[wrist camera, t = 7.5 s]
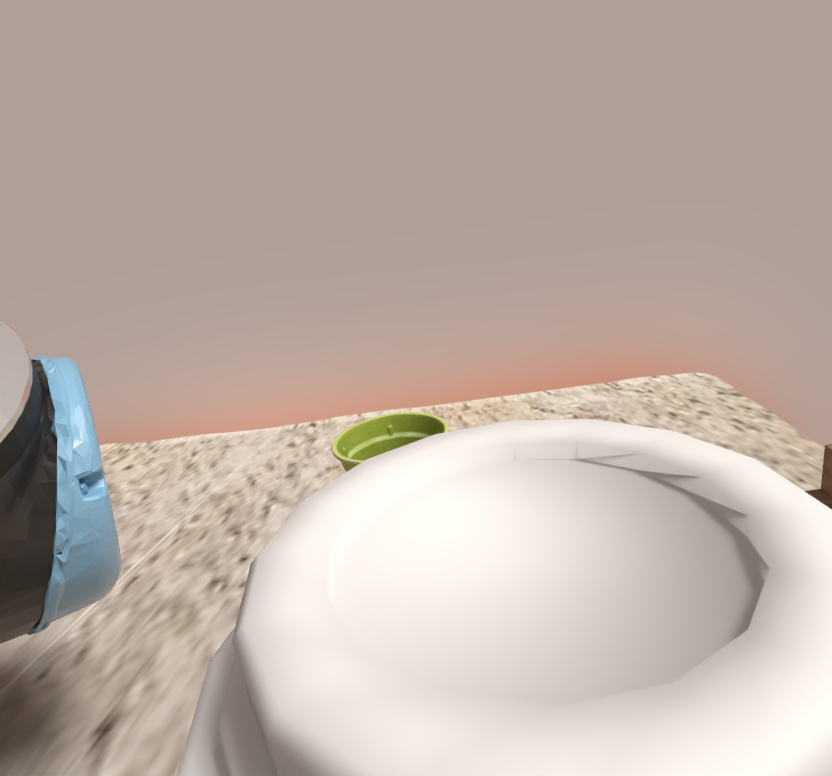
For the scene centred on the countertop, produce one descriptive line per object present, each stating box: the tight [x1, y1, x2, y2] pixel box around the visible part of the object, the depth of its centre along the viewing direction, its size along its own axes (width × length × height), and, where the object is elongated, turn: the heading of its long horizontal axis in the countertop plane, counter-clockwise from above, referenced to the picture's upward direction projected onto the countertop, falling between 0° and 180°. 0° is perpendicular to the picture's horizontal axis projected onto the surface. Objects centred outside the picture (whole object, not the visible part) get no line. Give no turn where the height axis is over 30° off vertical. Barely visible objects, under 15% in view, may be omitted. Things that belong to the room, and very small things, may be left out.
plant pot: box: [332, 412, 449, 472], centre depth 49 cm, size 9×9×9 cm
